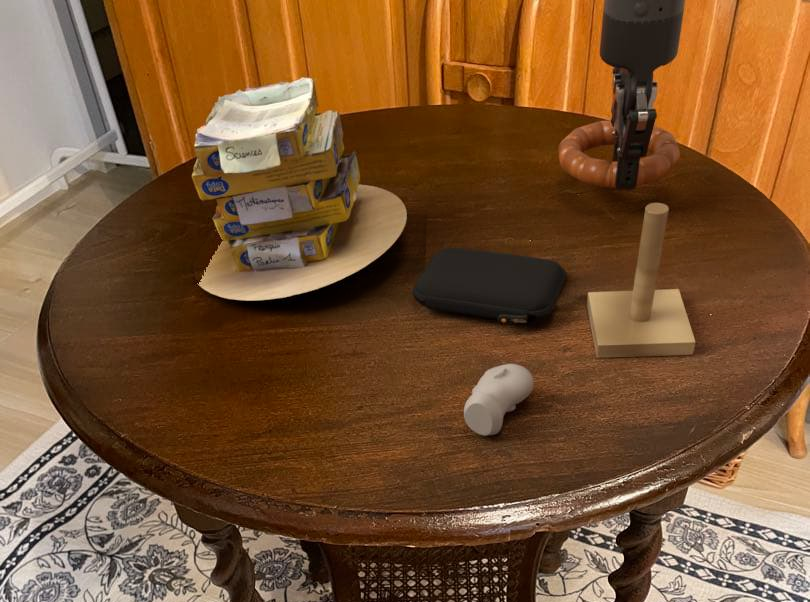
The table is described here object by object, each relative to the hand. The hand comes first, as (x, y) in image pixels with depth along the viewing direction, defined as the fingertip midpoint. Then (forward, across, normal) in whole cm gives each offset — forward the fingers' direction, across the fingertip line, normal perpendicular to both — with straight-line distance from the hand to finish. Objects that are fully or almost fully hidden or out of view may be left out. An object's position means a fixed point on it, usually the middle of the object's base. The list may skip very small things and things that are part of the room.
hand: (623, 180), depth 94 cm
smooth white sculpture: (+5, -33, +15) cm, 36 cm away
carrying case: (+5, -15, +15) cm, 22 cm away
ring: (-1, +5, 0) cm, 5 cm away
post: (+5, -21, +1) cm, 21 cm away
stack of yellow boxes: (+5, -4, +36) cm, 37 cm away
